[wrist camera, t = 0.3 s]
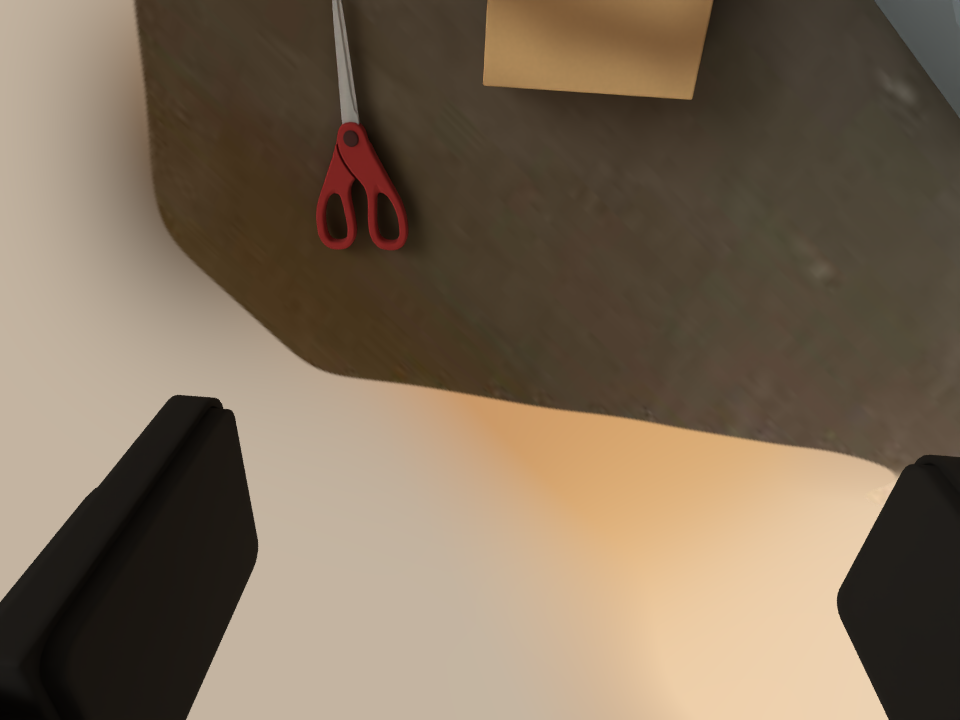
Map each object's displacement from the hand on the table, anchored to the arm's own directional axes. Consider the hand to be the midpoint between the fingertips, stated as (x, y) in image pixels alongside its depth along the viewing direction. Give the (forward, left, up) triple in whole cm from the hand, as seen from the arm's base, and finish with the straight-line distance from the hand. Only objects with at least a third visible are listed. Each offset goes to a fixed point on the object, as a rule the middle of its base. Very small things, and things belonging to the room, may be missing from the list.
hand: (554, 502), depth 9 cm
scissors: (+2, -10, -30) cm, 32 cm away
